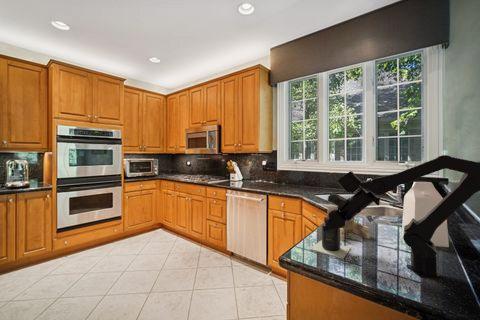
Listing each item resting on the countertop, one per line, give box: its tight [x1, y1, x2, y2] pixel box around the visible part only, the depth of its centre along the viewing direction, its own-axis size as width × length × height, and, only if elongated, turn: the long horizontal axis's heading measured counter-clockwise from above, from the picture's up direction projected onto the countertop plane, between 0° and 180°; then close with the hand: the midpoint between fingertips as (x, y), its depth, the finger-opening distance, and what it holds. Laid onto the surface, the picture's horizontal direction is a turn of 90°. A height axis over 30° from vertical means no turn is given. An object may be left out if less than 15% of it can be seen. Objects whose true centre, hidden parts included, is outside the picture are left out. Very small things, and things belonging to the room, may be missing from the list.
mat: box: [310, 240, 352, 260], centre depth 84 cm, size 12×12×1 cm
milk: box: [401, 181, 450, 248], centre depth 94 cm, size 12×12×26 cm
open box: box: [326, 205, 370, 241], centre depth 100 cm, size 11×14×13 cm
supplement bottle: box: [321, 216, 341, 251], centre depth 84 cm, size 7×7×12 cm
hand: (327, 226), depth 85 cm, fingers open, 9 cm apart
